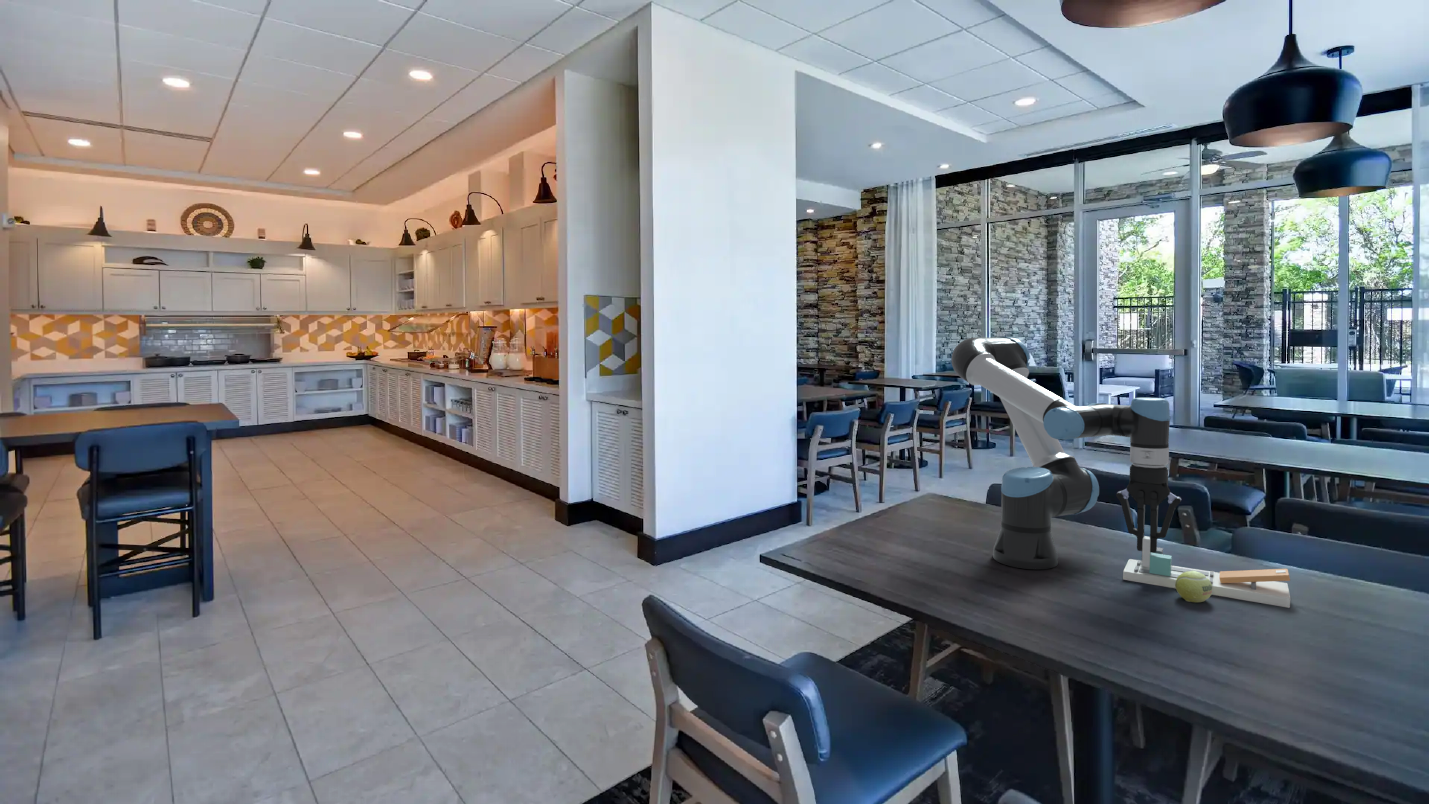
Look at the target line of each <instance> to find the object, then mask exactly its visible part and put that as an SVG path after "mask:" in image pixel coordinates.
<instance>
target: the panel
mask: <svg viewBox="0 0 1429 804" xmlns="http://www.w3.org/2000/svg"><path fill="white" fill-rule="evenodd" d="M1141 563H1142V559H1132V558H1129V559H1128V561H1127V563H1126V565H1125V567H1124V569H1123V572H1122V573H1123V574H1122V580H1125V581H1130V582H1136V583H1142V584H1147V585H1154V586H1160V587H1165V588H1169V589H1176V587H1175V584H1176V580H1177V578H1178V576H1179V575H1180V574H1182V573H1184V572H1187V571H1197V572H1200V573H1202V574H1204V575H1205V576H1206V577H1207V578H1208V579H1209V580H1210V582H1211V584H1212V594H1211V596H1212V595H1213V596H1217V597H1218V596H1219V597H1223V598H1230V599H1235V600H1241V601H1247V602H1251V603H1252V602H1254V603H1261V604H1263V605H1270V606H1277V607H1283V608H1288V609H1290V608H1291V595H1290V594H1291V593H1290V590H1289V586H1288V585H1289V584H1288V583H1287V582H1284V581H1266V582H1237V583H1221V582H1220V578H1219V576H1220V572H1215V571H1214V570H1210V571H1209V570H1204V569H1198V568H1190V567H1183V566H1177V565H1172V564H1171V575H1170V576H1165V575H1159V574H1153V573H1149V570H1150V567H1144V566H1142V565H1141Z"/></svg>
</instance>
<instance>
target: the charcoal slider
mask: <svg viewBox="0 0 1429 804" xmlns="http://www.w3.org/2000/svg"><path fill="white" fill-rule="evenodd" d="M1151 553H1152V552H1151ZM1155 553H1157V554H1164V547H1158V546H1157V550H1156V552H1155ZM1141 565H1142V563H1141Z"/></svg>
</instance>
